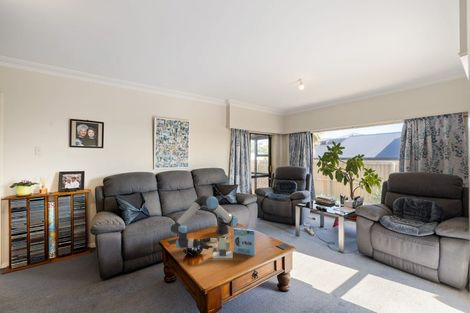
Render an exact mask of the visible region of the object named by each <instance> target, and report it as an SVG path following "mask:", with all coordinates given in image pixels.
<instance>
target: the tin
mask: <svg viewBox="0 0 470 313" xmlns="http://www.w3.org/2000/svg"><path fill="white" fill-rule="evenodd" d="M218 239H219V241H218V242H219V251H218V252H219V256H226V252H227V251H226V242H227V235H220V236H219V237H218Z"/></svg>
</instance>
